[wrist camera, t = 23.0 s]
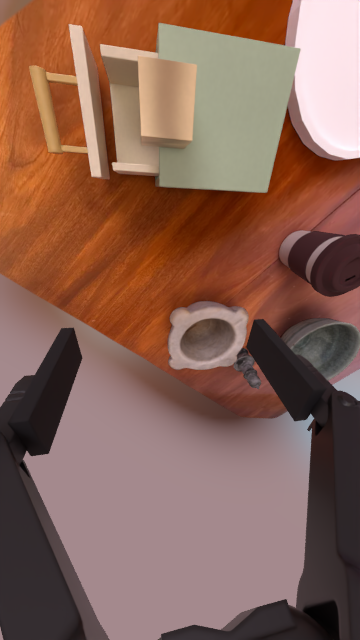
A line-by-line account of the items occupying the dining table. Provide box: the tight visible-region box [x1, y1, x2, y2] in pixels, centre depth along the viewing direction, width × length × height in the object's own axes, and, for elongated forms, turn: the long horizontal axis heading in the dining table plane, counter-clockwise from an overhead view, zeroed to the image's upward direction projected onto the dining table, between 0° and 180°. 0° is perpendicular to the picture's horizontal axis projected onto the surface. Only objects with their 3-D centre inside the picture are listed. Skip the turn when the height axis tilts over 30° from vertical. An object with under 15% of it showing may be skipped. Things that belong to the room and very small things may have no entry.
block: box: [138, 55, 197, 149], centre depth 20 cm, size 5×5×5 cm
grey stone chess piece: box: [234, 348, 261, 389], centre depth 54 cm, size 6×6×12 cm
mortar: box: [168, 301, 248, 370], centre depth 46 cm, size 17×17×9 cm
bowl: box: [281, 318, 360, 380], centre depth 54 cm, size 21×21×10 cm
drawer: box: [29, 24, 159, 179], centre depth 26 cm, size 19×12×8 cm, turn 87°
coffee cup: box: [279, 230, 360, 297], centre depth 37 cm, size 10×10×15 cm
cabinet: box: [155, 23, 301, 193], centre depth 28 cm, size 15×13×10 cm
